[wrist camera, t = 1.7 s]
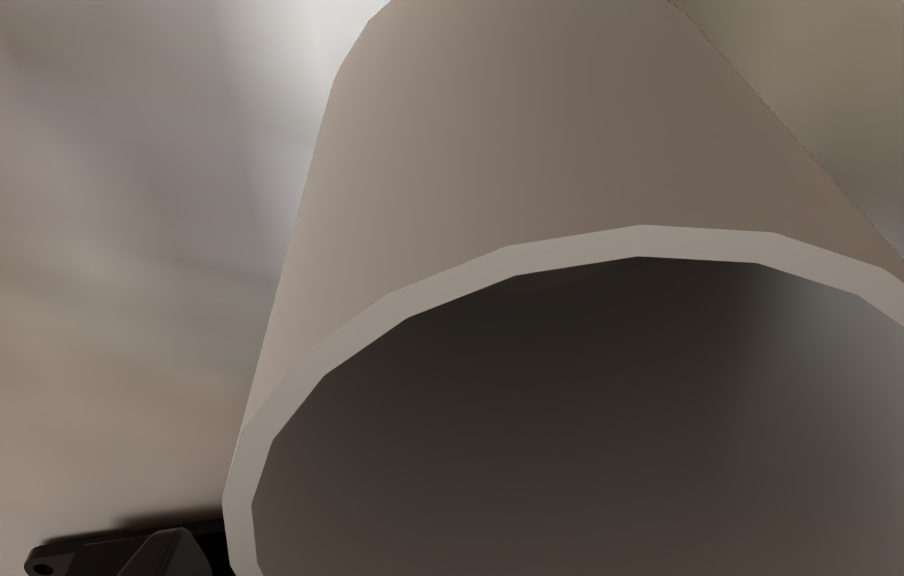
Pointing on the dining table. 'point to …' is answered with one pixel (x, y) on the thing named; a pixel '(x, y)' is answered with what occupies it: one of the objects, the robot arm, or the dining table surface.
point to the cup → (569, 319)
